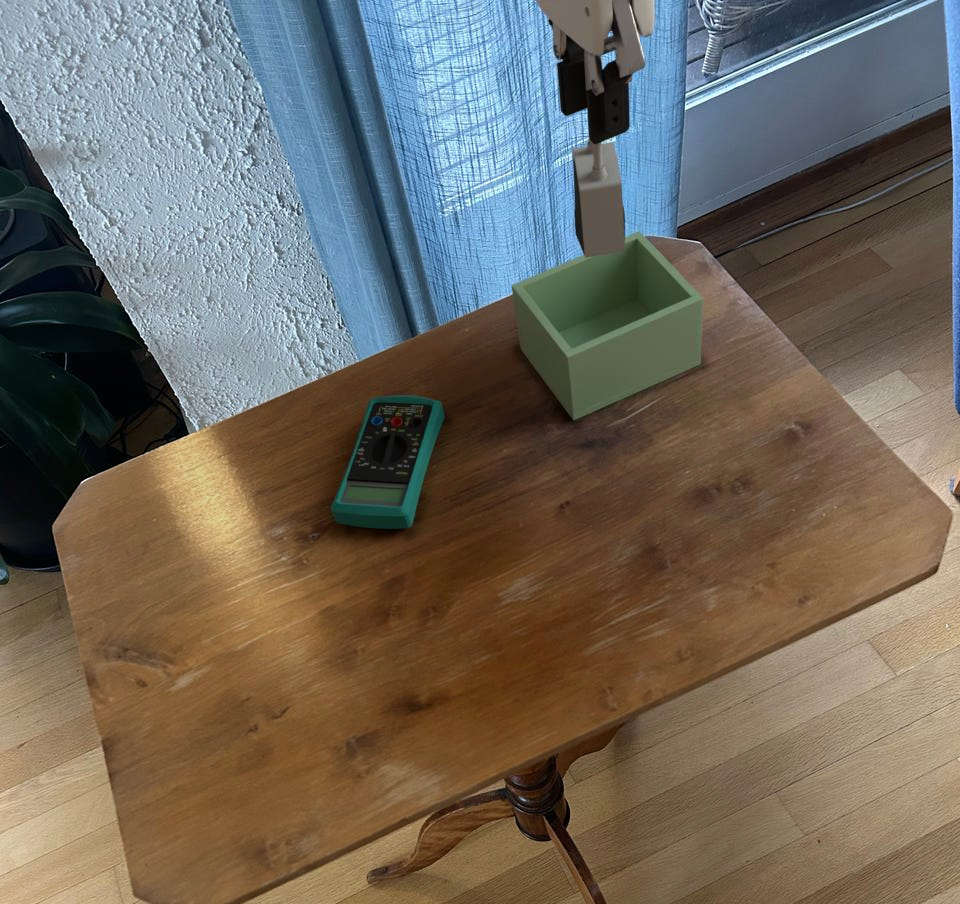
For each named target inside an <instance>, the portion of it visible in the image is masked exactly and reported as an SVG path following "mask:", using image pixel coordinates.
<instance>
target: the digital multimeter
mask: <svg viewBox="0 0 960 904" xmlns="http://www.w3.org/2000/svg"><path fill="white" fill-rule="evenodd" d="M444 420H445V412H444V408H443V404H442V402H441V401H440V400H437V399H432V398H428V397H424V396H417V395H410V394H409V395H408V394H407V395H405V394H397V395H386V396H379V397H378V396H377V397H372V398H370V399H369V400H368V401H367V406H366V409H365V413H364V416H363V420H362V423H361V426H360V429H359V432H358V436H357V439H356V442H355V446H354V449H353V451H352V454H351V456H350V459H349V461H348V465H347V467H346V470H345V473H344V474H343V477H342V480H341V482H340V485H339V487H338V488H337V491H336V493H335V496H334V499H333V501H332V503H331V506H330V510H331V513H332V516H333V518H334V521H335V522H336V524H340V525H346V526H351V527H360V528H366V529H367V528H368V529H369V528H370V529H387V530H388V529H389V530H390V529H392V530H393V529H395V530H397V529H409V528H411V527H412V526H413V523H414V520H415V516H416V510H417V507H418V502H419V498H420V494H421V490H422V486H423V484H424V479H425V476H426V472H427V469H428V466H429V462H430V459H431V456H432V453H433V450H434V448H435V444H436V442H437V439H438V436H439V434H440V430H441V429H442V425H443V423H444Z"/></svg>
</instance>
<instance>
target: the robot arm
mask: <svg viewBox="0 0 960 904" xmlns="http://www.w3.org/2000/svg"><path fill="white" fill-rule="evenodd" d="M535 1H536V4H537V5H538V7H539V9H540V10H541V11H542V13H543V14H544V15H545V16H546V17H547V18H548V19H547V22H548V24H549V26H550V27H551V30H552V52H553V55H554V58H555V59H556V60H557V61H559V62H557V63H556V70H557V71H556V72H557V73H556V74H557V84H558V95H559V97H558V98H559V106H560V107H559V108H560V112H561V113H562V115H564V116H565V117H569V116H572V115H574V114H576V113H579V112H581V111H583V110H586V111H587V124H588V125H587V128H588V129H587V131H588V140H589V139H590V141H591V142H592V143H593V144H598V143H601V142H606V141H608V140H610V139H613V138H615V137H618V136H620V135H622V134H624V133H627V132H628V131H629V129H630V126H631V120H630V119H631V117H630V84H629V83H631V82H632V81H633V75H634V74H635V73H637V72H640V71H641V70H643V69H645V68H646V58H645V55H644V50H643V47H642V43H641V39H640V36H641V37H643V38H648V37H650V36H652V34H653V33H654V30H655V23H656V22H655V20H656V19H655V18H656V15H655V13H656V12H655V8H656V7H655V0H535ZM610 33H612V35H610V36H609V34H610ZM585 50H586V53H587V61H588V68H589V76H590V83H591V88H592V89H589V90H587V91H586V81H585V64H584V51H585ZM612 52H614V55H615V59H613V60H612V61H609V62H608V63H606V65H605V66H604V67H603V63H602V62H603V61H602V56H604V55H606V54H609V53H612ZM560 60H561V61H560Z"/></svg>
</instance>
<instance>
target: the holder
mask: <svg viewBox="0 0 960 904" xmlns="http://www.w3.org/2000/svg"><path fill="white" fill-rule="evenodd" d="M511 292H512V298H513V305H514V312H515V319H516V326H517V332H518V340H519V347H520V350H521V352H522V353H523V354H524V356H525V357H526V358H527V361H529V363H530V364H531V365H532V366H533V368H534V369H535V371H536V372H537V373H538V374H539V376H540V377H541V378H542V380H543V381H544V383H545V384H546V385H547V387H548V388H549V389H550V391H551V392H552V394H553V395H554V397H556V399H557V400H558V401H559V403H560V404H561V406H562V407H563V408H564V409H565V411H566V412H567V414H568V415H569V416H570V418H571V419H572V420H573V421H575V420H578V419H580V418H583V417H586V416H587V415H590V414H592V413H594V412H597V411H599V410H601V409H603V408H605V407H608V406H610V405H612V404H614V403H617V402H619V401H621V400H623V399H626V398H628V397H630V396H633V395H635V394H638V393H639V392H641V391H644V390H646V389H648V388H651V387H653V386H655V385H657V384H660V383H662V382H664V381H666V380H669V379H671V378H673V377H676V376H678V375H681V374H682V373H684V372H686V371H689V370H691V369H694V368H696V367H698V366H700V365H701V364H702V363H701V360H702V359H701V357H702V339H703V338H702V337H703V336H702V335H703V315H704V314H703V311H704V297H703V296H702V295H701V294H700V293H699V292H698V291H697V290H696V289H695V288H694V286H693V285H692V284H690V282H688V281H687V280H686V278H685V277H684V276H683V275H682V274H681V273H680V272H679V271H678V270H677V268H675V267H674V266H673V265H672V264H671V262H669V260H667V258H666V257H665V256H664V255H663V254H662V253H661V252H660V251H659V250H658V249H657V248H656V247H655V246H654V244H652V243H651V242H650V240H648V238H646V236H645V235H644V234H643V233H642V232H641V231H636V232H634V233H632V234H629V235H627V236H625V252H618V253H612V254H606V255H599V256H593V257H587V258H585V256H584V254H582V255H580V256H577V257H575V258H572V259H570V260H568V261H566V262H563V263H561V264H558V265H556V266H553V267H552V268H549V269H546V270H545V271H541V272H540V273H537V274H535V275H532V276H529V277H527V278H526V279H523V280H521V281H518V282H515V283H514V284H512V285H511Z"/></svg>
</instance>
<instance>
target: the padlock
mask: <svg viewBox="0 0 960 904" xmlns="http://www.w3.org/2000/svg"><path fill="white" fill-rule="evenodd" d="M584 64H585V81H586V91H587V90H589V89H592V88H591V83H590V76H589V68H588V61H587V53H586V50H585V51H584ZM572 163H573V164H572V165H573V167H572V168H573V194H574V197H573V198H574V210H573V212H574V213H573V215H574V216H573V217H574V231H575V236H576V239H577V241H578V243H579V246H580V248H581V251H582V253H583V254H582V255H584V256H585V258H587V257H593V256H599V255H606V254H612V253H618V252H625V237H626V214H625V213H626V212H625V208H624V202H623V184H622V177H621V176H622V175H621V171H620V166H619V160H618V155H617V152H616V147H615V144H614V141H610V142H604V143H602V142H601V143H598V144H593V143H592V142H591V141H590V139H589V138H588V141H587V145H586V146H580V147H575V148H572Z"/></svg>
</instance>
